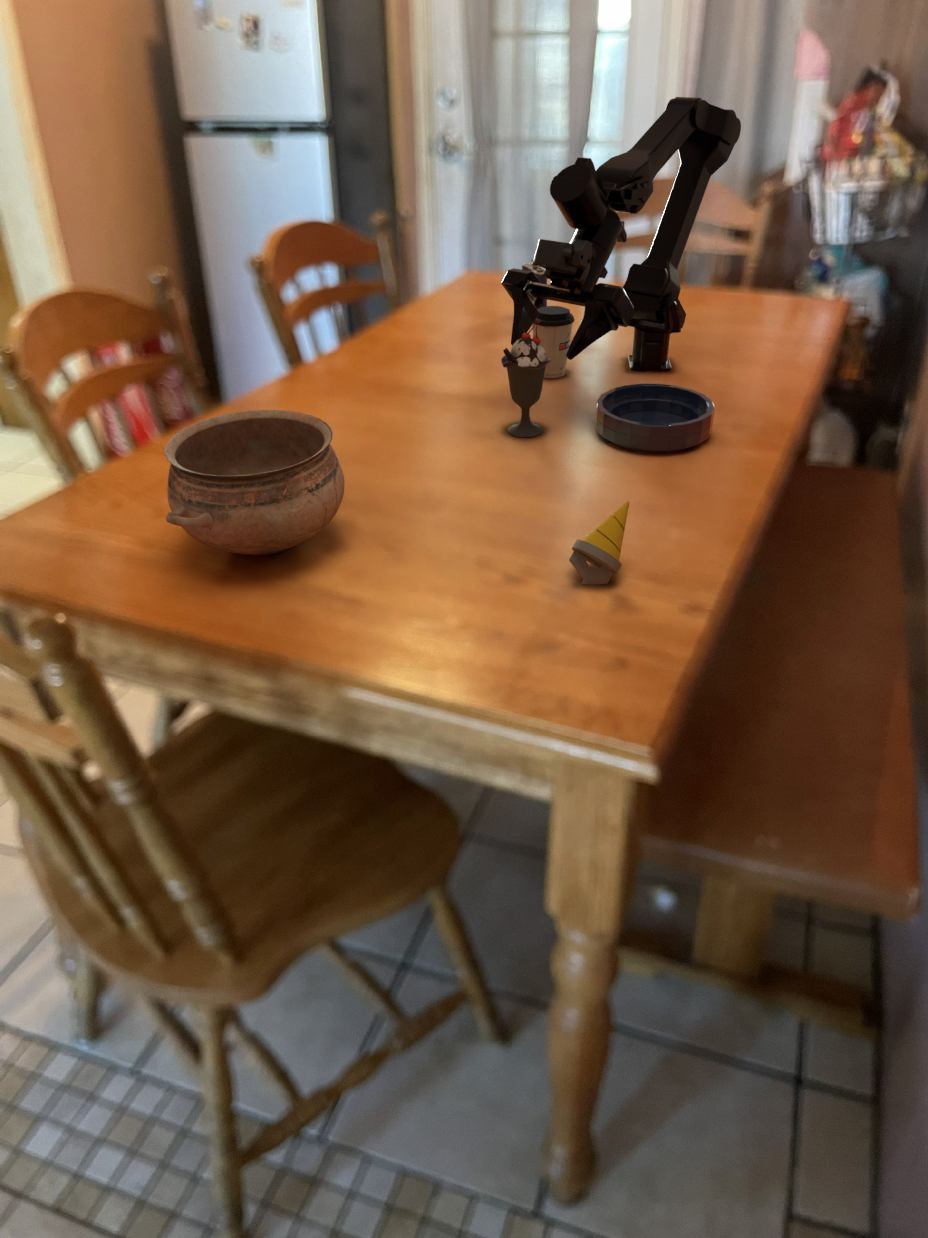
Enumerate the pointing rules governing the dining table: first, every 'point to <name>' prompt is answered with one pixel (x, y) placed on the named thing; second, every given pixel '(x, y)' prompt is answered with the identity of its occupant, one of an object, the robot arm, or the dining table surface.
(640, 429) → the bowl
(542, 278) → the flask
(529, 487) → the dining table surface
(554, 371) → the coffee cup
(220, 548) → the cooking pot
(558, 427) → the dining table surface
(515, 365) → the sundae
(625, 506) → the drill bit
